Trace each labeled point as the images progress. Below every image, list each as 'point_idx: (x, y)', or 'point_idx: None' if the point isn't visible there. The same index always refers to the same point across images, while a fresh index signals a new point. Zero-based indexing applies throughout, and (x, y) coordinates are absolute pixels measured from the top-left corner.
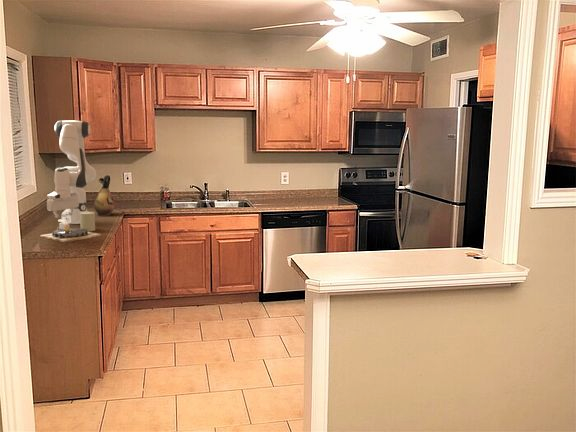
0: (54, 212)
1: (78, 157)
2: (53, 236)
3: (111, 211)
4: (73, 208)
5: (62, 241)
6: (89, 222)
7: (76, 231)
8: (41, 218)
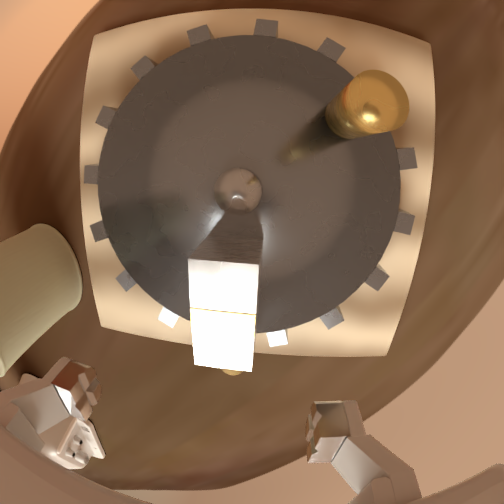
0: (400, 477)
1: None
2: None
3: None
4: None
5: (429, 75)
6: (10, 250)
7: (214, 115)
8: (131, 486)
